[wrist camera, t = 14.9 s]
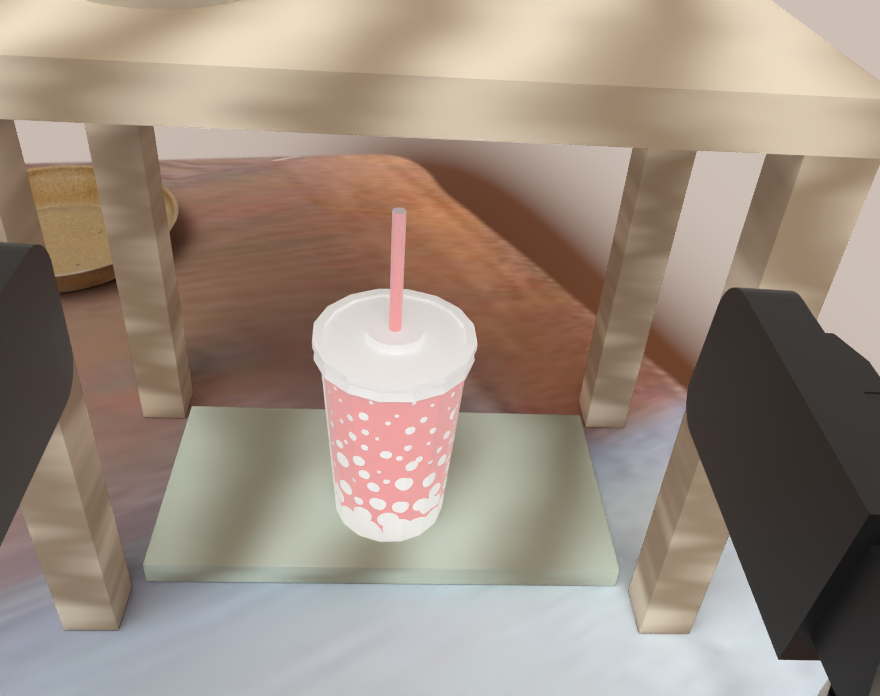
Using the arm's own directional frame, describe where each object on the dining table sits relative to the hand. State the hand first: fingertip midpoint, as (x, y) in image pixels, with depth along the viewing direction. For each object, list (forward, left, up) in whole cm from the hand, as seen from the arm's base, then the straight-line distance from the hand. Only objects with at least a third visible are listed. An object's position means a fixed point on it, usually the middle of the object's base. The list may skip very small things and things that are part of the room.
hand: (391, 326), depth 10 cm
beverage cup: (0, +17, -21) cm, 27 cm away
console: (0, +18, -22) cm, 28 cm away
